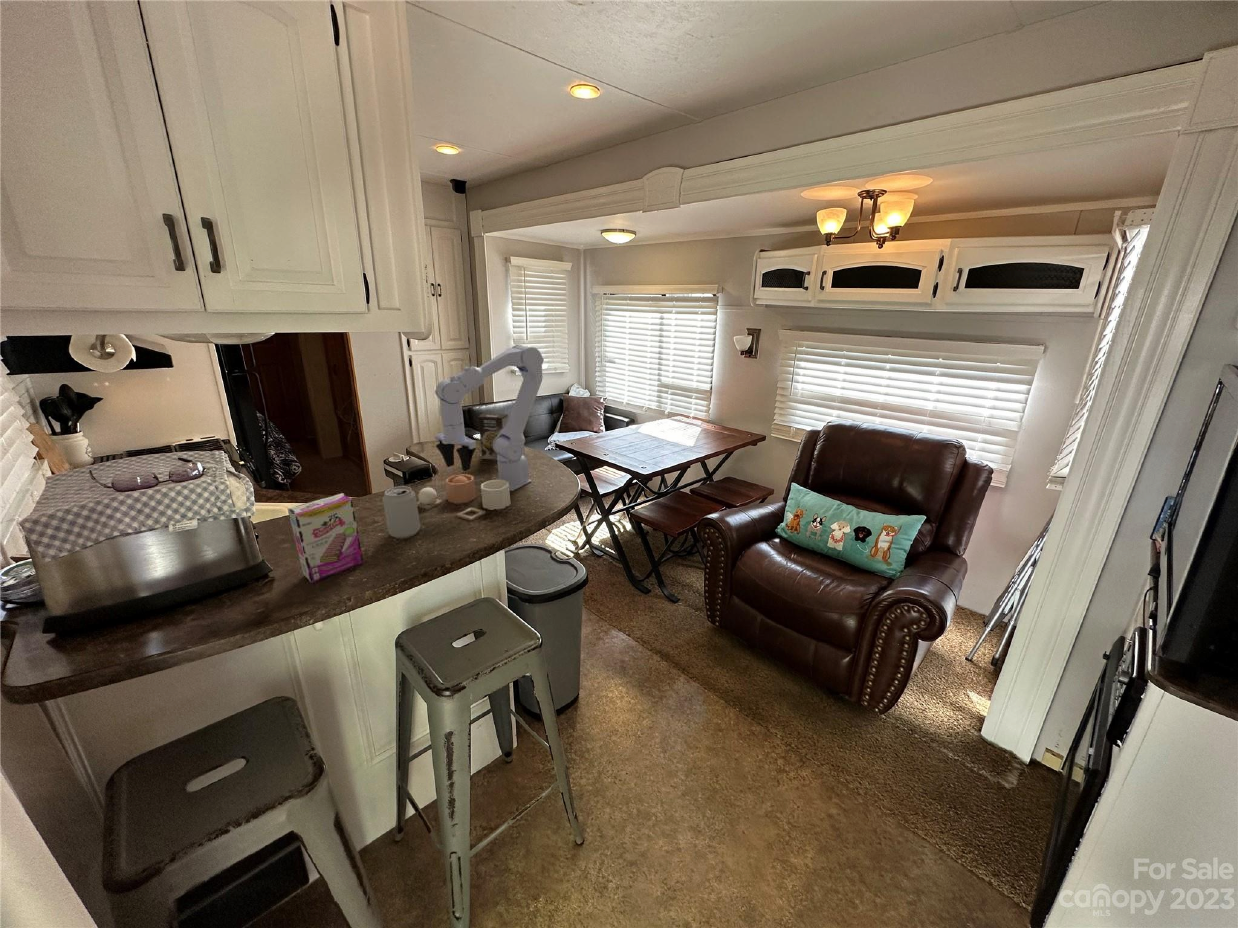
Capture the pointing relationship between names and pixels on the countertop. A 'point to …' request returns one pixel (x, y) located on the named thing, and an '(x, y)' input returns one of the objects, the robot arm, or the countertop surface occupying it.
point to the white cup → (495, 494)
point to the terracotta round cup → (460, 489)
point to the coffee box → (490, 432)
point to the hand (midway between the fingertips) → (458, 467)
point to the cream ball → (427, 496)
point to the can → (401, 512)
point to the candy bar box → (326, 536)
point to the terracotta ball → (459, 480)
